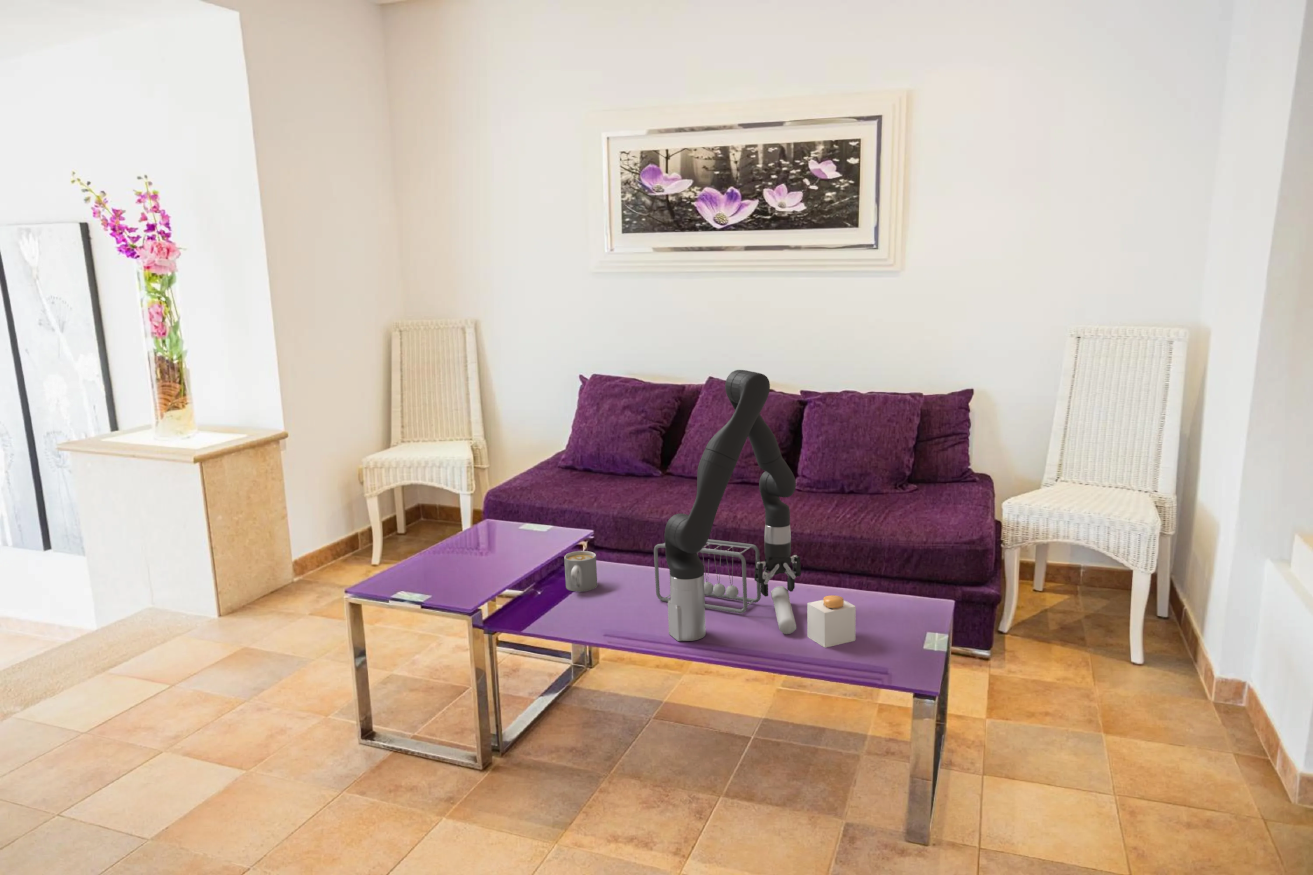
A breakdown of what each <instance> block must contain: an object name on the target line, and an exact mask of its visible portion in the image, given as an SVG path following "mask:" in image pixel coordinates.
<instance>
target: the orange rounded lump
mask: <svg viewBox="0 0 1313 875" xmlns="http://www.w3.org/2000/svg"><path fill="white" fill-rule="evenodd" d="M822 600H823V604H824V606H826V607H828V608H829V609H831V610H833V609H838V608H840V607H842V606H843V605H844V597H842V596H840V595H836V594H835V595H831V594H830V595H826V596H824V597H823V599H822Z"/></svg>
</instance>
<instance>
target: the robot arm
mask: <svg viewBox="0 0 1313 875" xmlns="http://www.w3.org/2000/svg"><path fill="white" fill-rule="evenodd" d="M724 388H725V393H726V397H727V398H728V401H729V402H730V404H731V406H732V407H733V410H734V412H733V414H732V416H731V417H730V419H729V420H728V421H727V422H726V424H725V425H723V427H722V428H720V429H719V430H717V432H716V433H714V435H713V436H712V437H711V439H710V440H708V443H707V444H706V447H705V448H704V450H703V453H702V456H701V458H700V460H699V463H698V466H697V471H696V472H697V475H696V476H697V478H696V481H697V482H696V496H695V499H694V503H693V505H692V508H691V510H690V512H689V514H686V513H683V512H682V513H676V514H673V515H671V517H670V518H669V519H668V520H667V521H666V524H665V529H664V543H665V548H664V550H665V561H666V564H667V566H668V569H669V586H670V587H669V588H670V590H669V591H670V592H669V595H670V596H669V597H670V598H671V600H669V601H668V602H667V618H668V619H667V621H668V635H670V636H671V637H672V638H673V639H674V640H676V641H677V642H689V641H690V642H692V641H698V640H701V639H703V638H705V637H706V632H707V631H706V627H707V626H706V608H705V604H706V598H705V596H706V595H705V592H704V583H705V569H704V565H705V564H704V562H703V560H701V559H700V557H699V554H698V555H697V552H698V553H700V552H699V551H700V550H701V549H702V548H703V547H704V548H705V547H706V545H707V544H706V543H707V540H708V539H709V538H710V536H711V533H712V528H713V525H714V522H715V520H716V515H717V513H718V509H719V507H720V504H721V501H722V499H723V497H724V494H725V491H726V488H727V487H728V484H729V481H730V480H731V477H732V476H733V473H734V470H735V467H736V466H737V464H738V462H739V457H740V456H741V453H742V451H743V449H744V446H745V444H746V442H747V439H749V442H750V444H751V448H752V450H753V454H754V457H755V459H756V462H757V465H758V467H759V468H760V469H761V470H763V471H764V472H763V473H761V475H760V478H759V481H758V489H759V493H760V496H761V501H762V503H763V507H764V513H765V514H764V518H765V519H764V520H765V521H764V522H765V523H764V525H765V526H764V537H763V538H764V558H765V559H764V561H760V562H759V561H756V560H755V562H754V581H755V582H756V583H757V582H758V583H761V595H762V596H764V597H768V596H769V584H768V583H769V582H770V580H771V579H772V578H774V576H776V575H780V574H786V576H788V577H787V578H786V581H787V582H786V584H787V585H786V586H787V587H786V589H787V590H788V592H794V589H795V587H796V585H795V581H796V580H795V579H796V578H798V577H801V575H802V570H801V566H802V565H801V556H798V555H797V554H793V555H792V556H791V554H792V547H791V546H792V532H791V509H790V506H789V505H788V504H786V503H785V502H783V501H782V500H781V499H780V498H790V497H791V496H792V495H793V494H794V493H795V491H796V486H797V482H796V477H795V475H794V473H793V472H792V470H791V468H790V467H789V465H788V464H787V462H786V461H785V459H784V458H783V456H782V453H781V449H780V447H779V443H778V441H777V439H776V438H777V437H776V436H775V434H774V433H773V431H772V430H771V428H770V426H769V425H768V424H767V423H766V421H765V420H764V418H763V417H762V416H761V412H762V410H763V408H764V406H765V404H766V402H767V401H768V397H769V394H770V390H771V389H770V388H771V384H770V380H769V378H768V376H767V375H765V374H763V373H760V372H756V371H750V370H746V369H745V370H744V369H735V370H734V371H731V372H730V373H729V374H728V376H727V377H726V380H725V383H724ZM791 563H792V569H791V567H790V565H791Z"/></svg>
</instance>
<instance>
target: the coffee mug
mask: <svg viewBox="0 0 1313 875" xmlns="http://www.w3.org/2000/svg"><path fill="white" fill-rule="evenodd" d="M563 562H564V576H565V578H564V579H565V589H566V590H567V591H570V592H578V593H579V592H588V591H591V590H594V589H596V588H597V587H598V572H597V571H598V568H597V556H596V553H595V552H592V551H588V550H578V551H572V552H568V553H566V554H565V555H564V561H563Z"/></svg>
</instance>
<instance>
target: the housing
mask: <svg viewBox="0 0 1313 875" xmlns="http://www.w3.org/2000/svg"><path fill="white" fill-rule="evenodd" d="M806 605H807V609H806V610H807V613H806V614H807V615H806V616H807V617H806V618H807V622H806V623H807V634H806V635H807V637H806V638H809V639H810V640H811V641H813V642H815V643H816V644H818V645H819V646H821V647H823V648H825V649H826V648H830V647H834V646H838V645H842V644H847V643H851V642H855V641H856V621H857V620H856V617H857V616H856V614H857V613H856V612H857V610H856V609H857V608H856V605H854V604H852V603H850V602H849V601H847V600H844V605H843V606H842V607H840V608H838V609H833V610H831V609H829V608H828V607H826V606H824V604H823V599H821V600H820V599H819V600H815V601H811V602H807V604H806Z"/></svg>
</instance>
